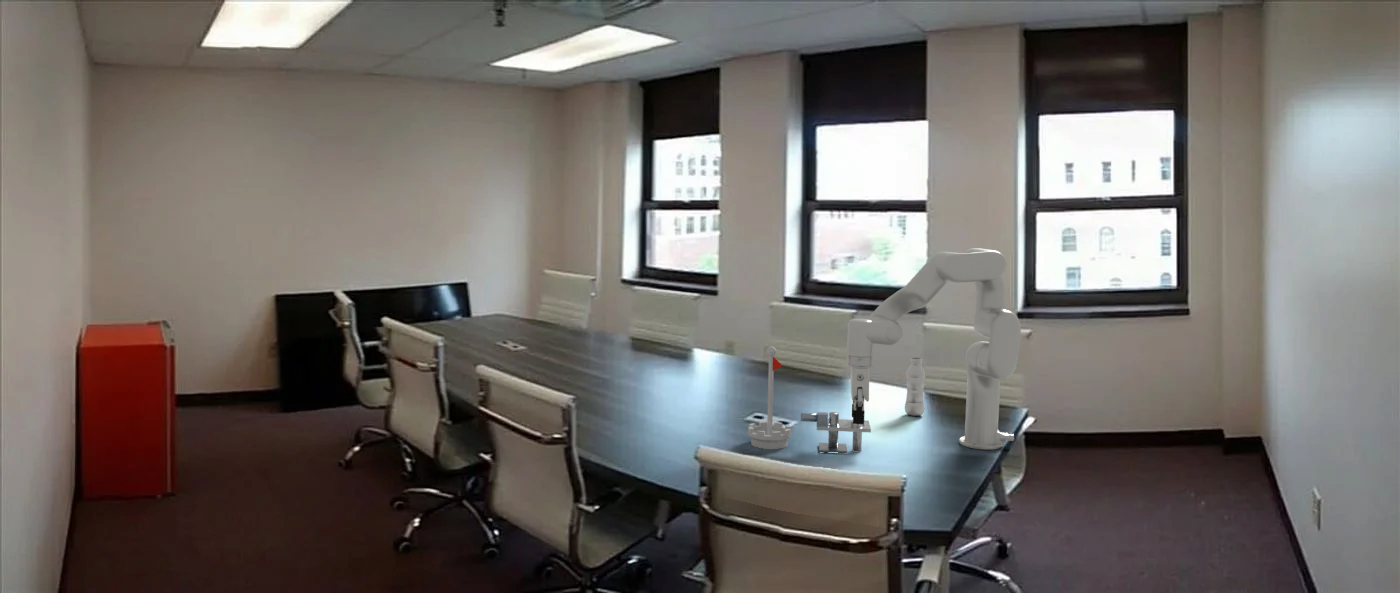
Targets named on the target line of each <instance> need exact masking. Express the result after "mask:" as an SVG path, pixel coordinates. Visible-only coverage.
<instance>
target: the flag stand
mask: <svg viewBox="0 0 1400 593" xmlns="http://www.w3.org/2000/svg"><path fill="white" fill-rule="evenodd" d="M766 354H767V355H768V376H767V377H768V379H767V381H768V382H767V384H768V385H767V420H766V421H759V422H758V425H756V423H755V422H754V423H753V422H752V423H749V424H748V428H747V435H748V436H749V437H750V438H751V439H750V440H751V442H750V443H751V444H750V445H751V446H752V447H755V448H757V447H758V449H762V448H763V449H764V450H777V449H779V448H780V449H784V448H786V447H788V443H789V442H788V440H789V439H790V438H791V437H792V426H791V425H789V424H785V425H784V426H783V422H778V421H774V422H773V417H774V416H773V409H774V408H773V407H774V373H775V372H774V371H776V370H777V369H779V368H781V367H783V366H784V365H783V364H782V363H781V362H779V360H778V359H776V358H775V356H776V354H777V349H776V347H774V346H768V347H767V348H766Z"/></svg>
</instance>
